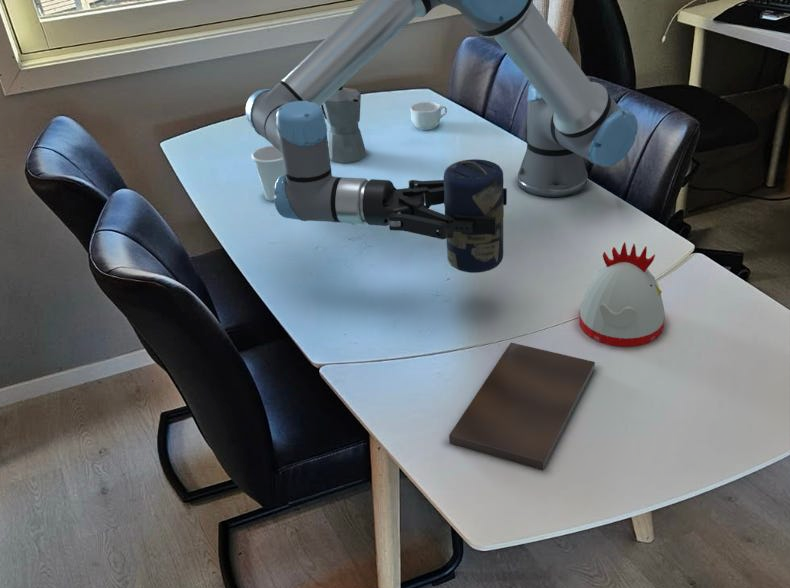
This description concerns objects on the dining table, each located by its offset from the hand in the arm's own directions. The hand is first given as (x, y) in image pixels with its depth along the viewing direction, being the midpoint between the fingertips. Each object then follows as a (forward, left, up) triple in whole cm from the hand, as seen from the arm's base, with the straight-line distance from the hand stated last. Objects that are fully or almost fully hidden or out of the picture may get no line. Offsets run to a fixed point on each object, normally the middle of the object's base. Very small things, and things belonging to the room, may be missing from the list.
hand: (501, 210), depth 134 cm
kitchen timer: (-10, +18, -19) cm, 28 cm away
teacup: (-51, -70, -19) cm, 89 cm away
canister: (+2, -4, -10) cm, 11 cm away
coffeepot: (-25, -73, -19) cm, 80 cm away
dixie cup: (-1, -67, -19) cm, 70 cm away
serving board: (+17, +20, -19) cm, 32 cm away
